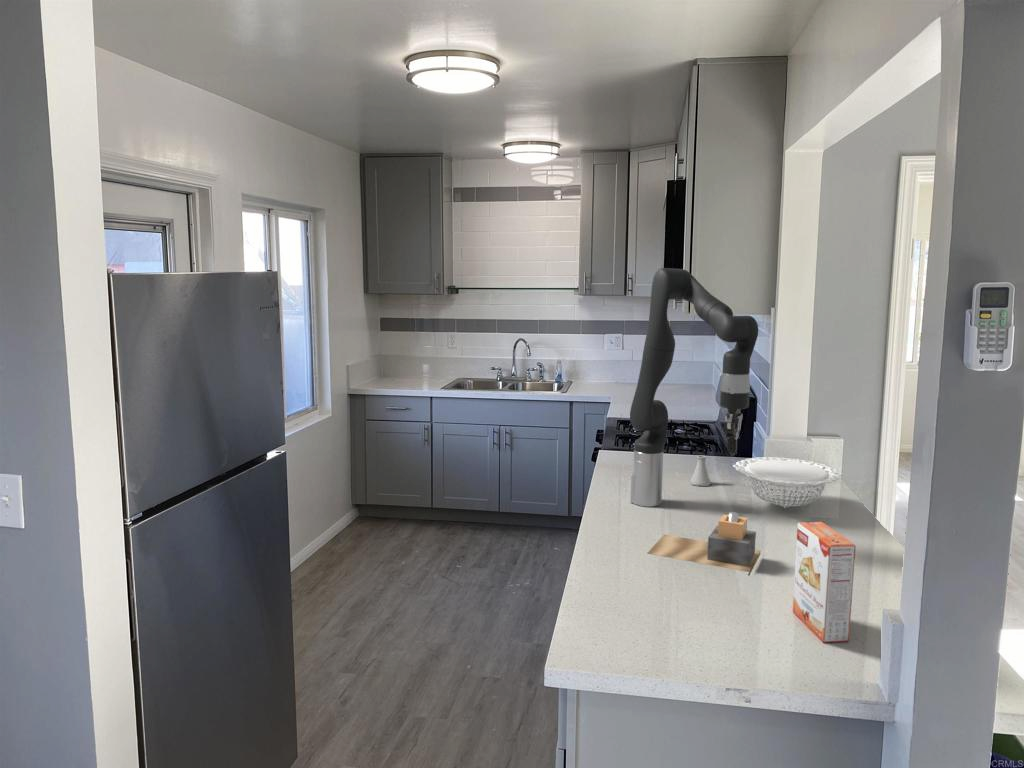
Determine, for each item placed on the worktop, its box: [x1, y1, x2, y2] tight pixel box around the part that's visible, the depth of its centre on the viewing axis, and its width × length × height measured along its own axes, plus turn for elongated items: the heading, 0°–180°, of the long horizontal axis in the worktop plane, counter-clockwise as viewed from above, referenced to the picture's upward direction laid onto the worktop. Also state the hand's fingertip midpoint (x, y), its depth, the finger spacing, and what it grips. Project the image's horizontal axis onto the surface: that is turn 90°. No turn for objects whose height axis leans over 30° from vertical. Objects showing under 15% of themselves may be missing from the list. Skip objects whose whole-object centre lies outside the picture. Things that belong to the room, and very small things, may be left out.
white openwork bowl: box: [732, 456, 844, 508], centre depth 238 cm, size 32×32×13 cm
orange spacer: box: [717, 514, 748, 540], centre depth 195 cm, size 6×6×4 cm
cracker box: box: [792, 521, 857, 643], centre depth 158 cm, size 14×6×21 cm, turn 5°
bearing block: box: [646, 525, 761, 576], centre depth 199 cm, size 26×16×7 cm, turn 63°
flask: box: [689, 454, 712, 487], centre depth 265 cm, size 7×7×10 cm
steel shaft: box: [728, 511, 739, 522], centre depth 195 cm, size 2×2×11 cm
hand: (731, 452), depth 208 cm, fingers closed
